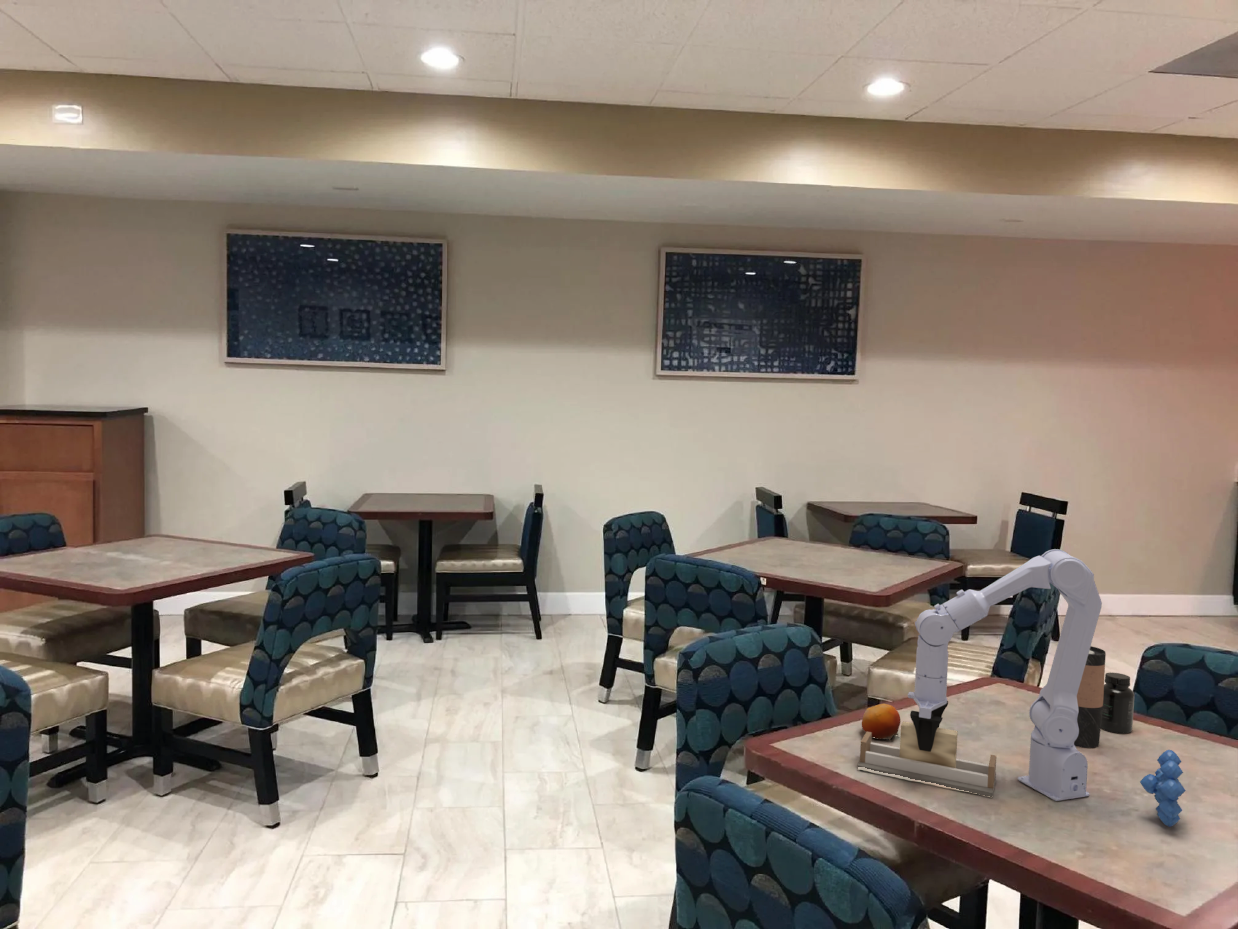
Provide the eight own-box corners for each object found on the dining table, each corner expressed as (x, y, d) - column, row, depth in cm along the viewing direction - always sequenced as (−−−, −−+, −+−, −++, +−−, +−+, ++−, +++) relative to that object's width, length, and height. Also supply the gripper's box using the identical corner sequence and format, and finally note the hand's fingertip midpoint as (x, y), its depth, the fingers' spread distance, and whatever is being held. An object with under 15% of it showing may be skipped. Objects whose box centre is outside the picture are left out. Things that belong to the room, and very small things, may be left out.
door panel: (955, 772, 166) (957, 731, 165) (954, 777, 164) (956, 735, 163) (901, 761, 171) (903, 721, 170) (899, 765, 168) (900, 725, 168)
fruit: (901, 741, 179) (883, 704, 181) (868, 752, 184) (851, 716, 186) (914, 730, 186) (896, 695, 188) (882, 741, 190) (865, 706, 192)
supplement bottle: (1119, 723, 197) (1123, 671, 196) (1138, 734, 191) (1142, 680, 190) (1090, 722, 197) (1093, 670, 196) (1108, 734, 190) (1111, 680, 189)
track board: (995, 777, 166) (997, 752, 166) (992, 798, 157) (993, 771, 157) (867, 752, 177) (868, 728, 177) (857, 770, 168) (858, 745, 168)
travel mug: (1107, 749, 182) (1113, 655, 180) (1070, 748, 182) (1076, 654, 180) (1088, 735, 189) (1094, 644, 188) (1053, 734, 189) (1058, 643, 188)
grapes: (1135, 801, 158) (1139, 736, 157) (1179, 810, 154) (1184, 744, 154) (1139, 828, 147) (1144, 759, 146) (1187, 838, 144) (1192, 768, 143)
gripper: (914, 660, 174) (911, 727, 175) (903, 681, 161) (900, 752, 162) (952, 666, 171) (948, 733, 172) (943, 687, 158) (940, 760, 159)
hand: (927, 743), depth 167 cm, fingers open, 7 cm apart
